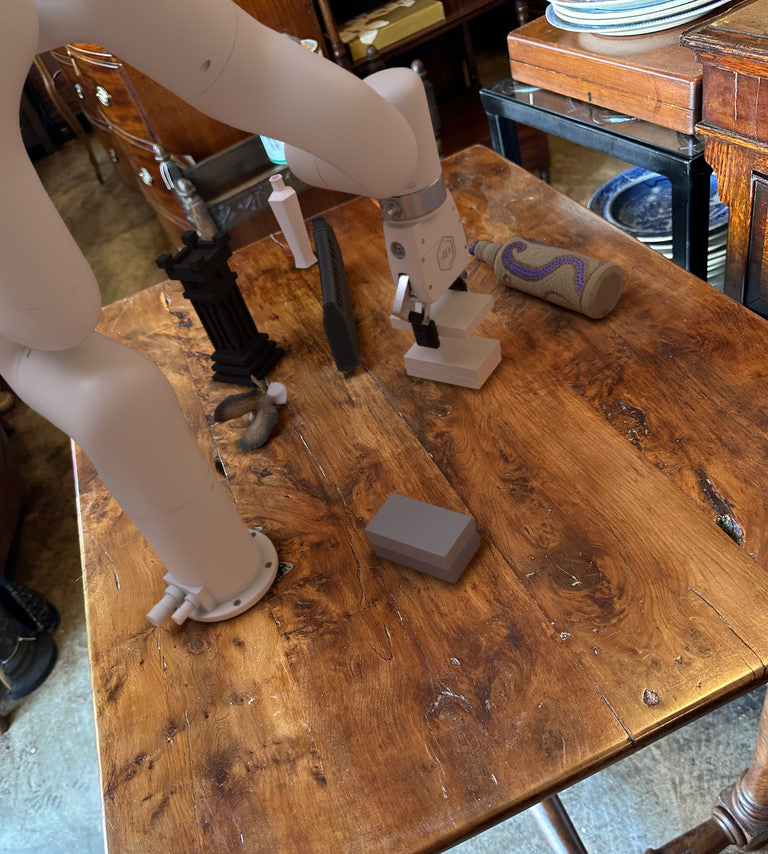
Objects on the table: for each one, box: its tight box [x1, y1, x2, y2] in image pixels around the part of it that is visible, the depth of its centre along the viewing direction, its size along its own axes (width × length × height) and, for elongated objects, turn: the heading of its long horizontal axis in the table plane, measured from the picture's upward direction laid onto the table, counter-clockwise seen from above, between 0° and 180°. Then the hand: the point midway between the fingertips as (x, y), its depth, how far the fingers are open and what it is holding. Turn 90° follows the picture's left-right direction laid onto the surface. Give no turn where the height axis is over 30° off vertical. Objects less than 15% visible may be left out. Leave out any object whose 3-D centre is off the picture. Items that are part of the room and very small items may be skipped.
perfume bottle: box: [267, 173, 318, 269], centre depth 128 cm, size 5×4×15 cm
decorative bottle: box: [468, 235, 625, 320], centre depth 109 cm, size 26×8×7 cm, turn 39°
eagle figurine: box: [212, 375, 288, 452], centre depth 104 cm, size 8×7×9 cm
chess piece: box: [154, 229, 285, 388], centre depth 110 cm, size 8×8×20 cm
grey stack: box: [363, 492, 482, 585], centre depth 83 cm, size 6×10×4 cm, turn 56°
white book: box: [388, 289, 495, 340], centre depth 98 cm, size 7×11×2 cm, turn 56°
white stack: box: [403, 335, 502, 390], centre depth 103 cm, size 6×11×3 cm, turn 56°
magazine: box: [311, 214, 362, 373], centre depth 115 cm, size 17×3×30 cm
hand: (444, 326), depth 99 cm, fingers closed on white book, 7 cm apart
